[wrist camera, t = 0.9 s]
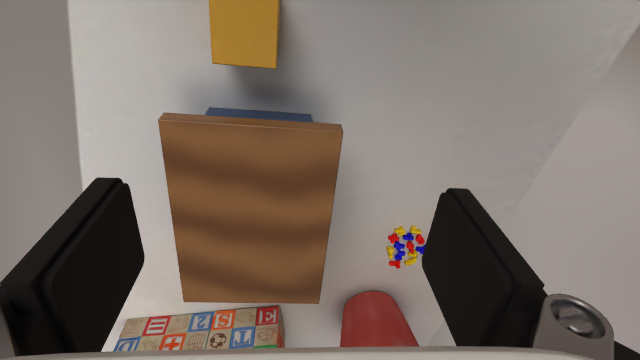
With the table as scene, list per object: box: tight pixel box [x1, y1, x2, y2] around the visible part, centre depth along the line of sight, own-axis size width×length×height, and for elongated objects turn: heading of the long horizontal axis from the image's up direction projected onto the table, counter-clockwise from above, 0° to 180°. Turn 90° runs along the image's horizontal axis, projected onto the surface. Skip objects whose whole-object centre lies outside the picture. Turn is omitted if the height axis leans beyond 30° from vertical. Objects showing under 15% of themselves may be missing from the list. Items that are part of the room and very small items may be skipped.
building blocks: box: [387, 226, 426, 269], centre depth 46 cm, size 6×8×2 cm
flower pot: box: [340, 291, 420, 347], centre depth 48 cm, size 11×11×10 cm
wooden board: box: [158, 113, 343, 304], centre depth 33 cm, size 20×14×2 cm
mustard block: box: [209, 0, 280, 69], centre depth 30 cm, size 5×5×5 cm
